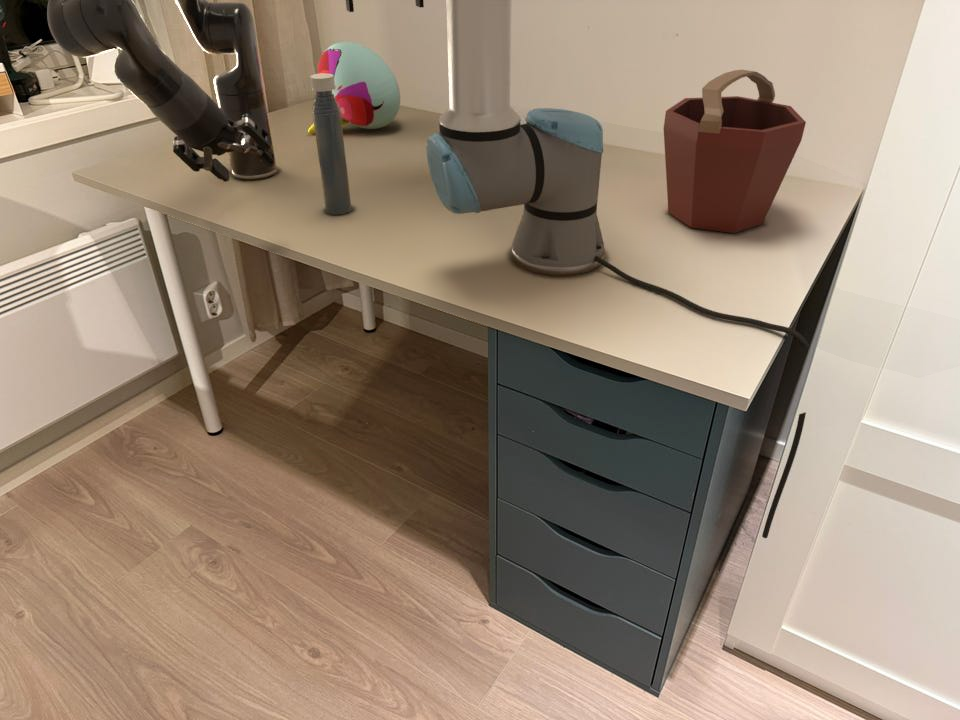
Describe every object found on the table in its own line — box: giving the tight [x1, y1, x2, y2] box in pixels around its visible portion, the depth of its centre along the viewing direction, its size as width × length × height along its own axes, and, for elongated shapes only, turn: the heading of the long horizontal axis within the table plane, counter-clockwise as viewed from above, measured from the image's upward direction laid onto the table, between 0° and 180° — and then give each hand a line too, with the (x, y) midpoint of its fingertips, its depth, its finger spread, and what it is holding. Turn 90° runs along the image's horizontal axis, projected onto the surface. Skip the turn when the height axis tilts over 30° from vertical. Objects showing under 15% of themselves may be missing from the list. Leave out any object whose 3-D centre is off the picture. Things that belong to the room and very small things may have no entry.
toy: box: [307, 41, 401, 134], centre depth 176 cm, size 24×24×20 cm
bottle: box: [311, 90, 352, 216], centre depth 128 cm, size 5×5×24 cm
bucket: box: [663, 69, 807, 234], centre depth 125 cm, size 24×22×25 cm
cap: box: [309, 73, 335, 92], centre depth 122 cm, size 4×4×2 cm
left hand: (249, 170), depth 117 cm, fingers open, 8 cm apart
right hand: (385, 9), depth 134 cm, fingers open, 13 cm apart
